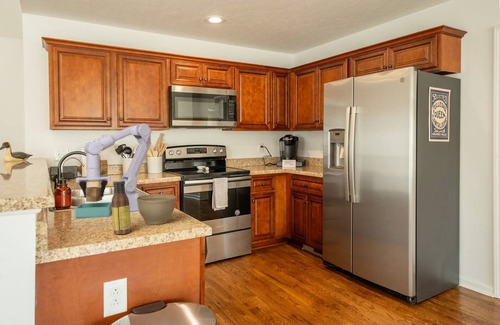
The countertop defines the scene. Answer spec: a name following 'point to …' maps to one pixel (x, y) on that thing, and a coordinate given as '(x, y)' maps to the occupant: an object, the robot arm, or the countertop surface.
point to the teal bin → (93, 210)
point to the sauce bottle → (120, 209)
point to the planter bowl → (156, 207)
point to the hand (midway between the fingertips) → (94, 197)
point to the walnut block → (93, 194)
